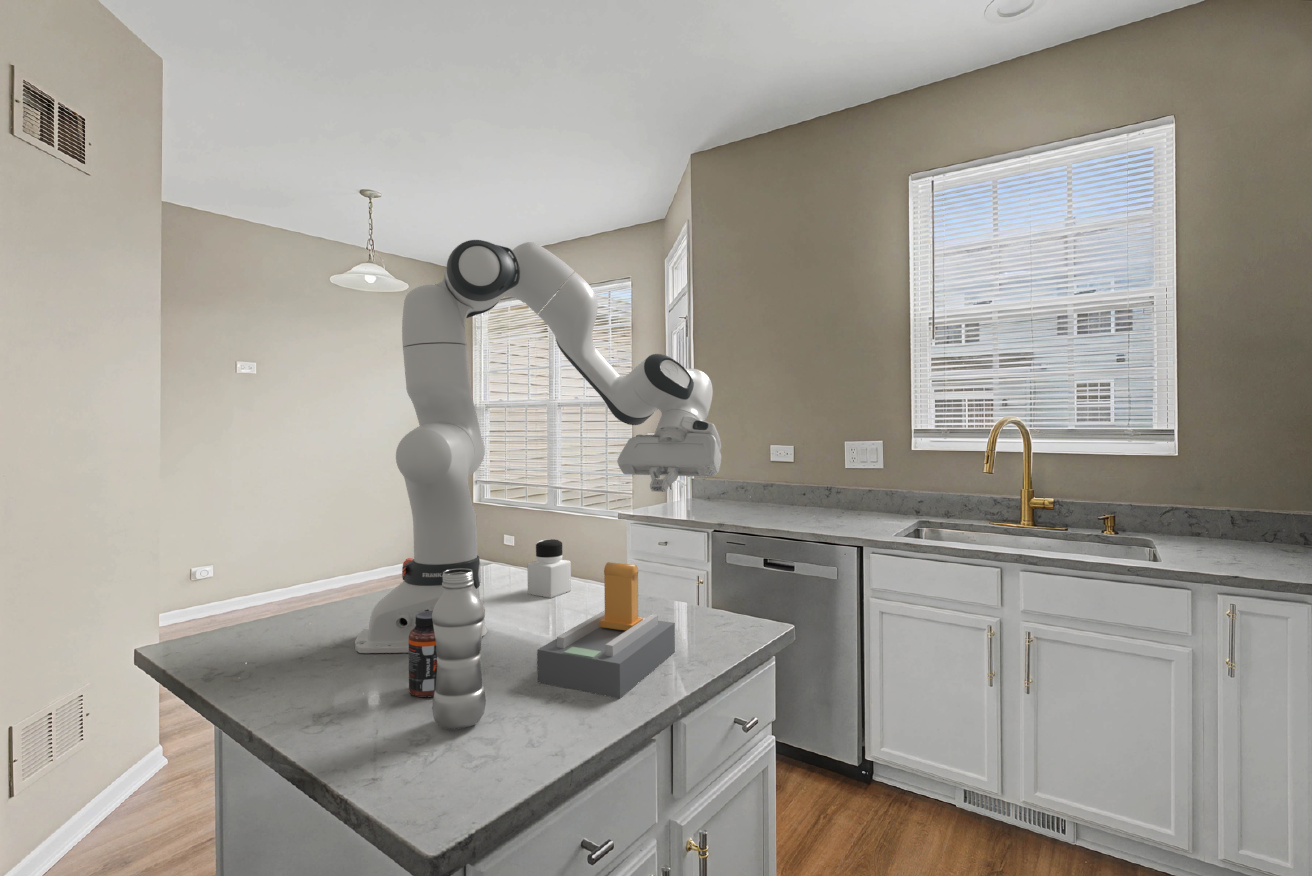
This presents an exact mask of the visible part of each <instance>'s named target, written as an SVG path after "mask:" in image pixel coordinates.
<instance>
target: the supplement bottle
mask: <svg viewBox="0 0 1312 876" xmlns="http://www.w3.org/2000/svg"><path fill="white" fill-rule="evenodd" d="M432 613H433V611H425V612H421V613H418V614H417V615H416V617H415V618H416V620H415V624H416V626H415V628H414V629H413V630H411V632H410V633H409V652H408V691H409V693H410V694H411V695H412V696H414V697H419V698H431V697H434V692H435V690H436V689H435V688H436V676H437V651H436V639H435V633H434V627H433V620H432Z"/></svg>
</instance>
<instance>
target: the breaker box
mask: <svg viewBox="0 0 1312 876" xmlns="http://www.w3.org/2000/svg"><path fill="white" fill-rule="evenodd" d="M604 618H605V609H604V610H602V611H601V612H599V613H597V614H595V615H593V616H592V617H590V618H589V619H587V620H585V621H583V622H581V623H579V624H578V625H576V626H574V627H572V628H570V629H568V630H567V631H565V632H563V633H562V634H559V635H558V636H556V638H555V639H554V640H552V641H550V642H548V643H547V644H544V645H543V646H541V647H539V648H537V650H536V651H537V652H536V653H537V654H536V655H537V657H536V661H537V664H536V665H537V670H536V671H537V683H539V684H544V685H548V686H549V685H550V686H555V687H559V688H564V689H568V690H569V689H570V690H574V691H580V692H584V691H585V693H589V692H590V693H589V694H595V693H596V694H595V695H599V696H604V695H606V696H605V697H609V696H611V697H610V698H614V697H615V698H614V699H621V698H622V697H624V696H625V695H626V694H627V693H629V692H630V691H631V690H633V688H634V687H635V686H637V685H638V684H639V683H641V681H642V679H643V678H644V679H645V678H647V676H649V674H651V673H652V672H653V671H654V670H655V669H657V668H658V667H659V666H660V665H662V664H663V663H664V662H665V661H666V660H667V659H669V658H670V657H671V656H672V655H674V653H675V652H676V633H675V632H676V627H675V626H676V625H675V622H673V621H665V620H659V615H658V614H649V616H647V617H642V618H643V620H642V621H641V622H639V623H638V624H636V625H634V626H633V627H631V628H630V629H628V630H627V631H625V630H618V629H611V628H604V627H600V620H602V619H604ZM638 618H641V616H640V617H639V616H638ZM644 679H643V680H644ZM638 682H639V683H638ZM637 683H638V684H637Z"/></svg>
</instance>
